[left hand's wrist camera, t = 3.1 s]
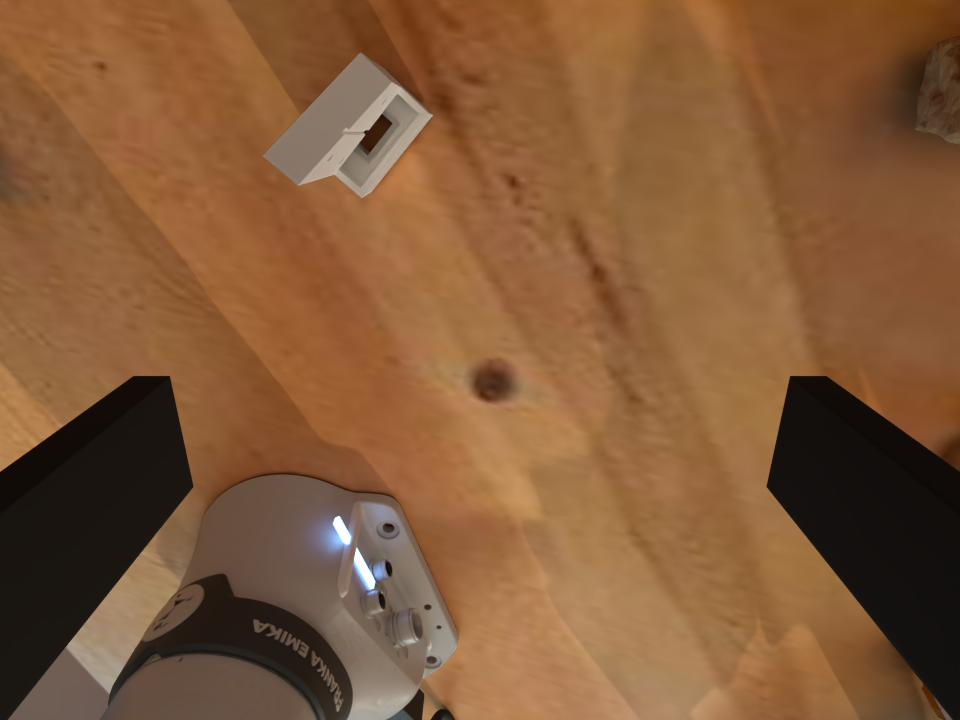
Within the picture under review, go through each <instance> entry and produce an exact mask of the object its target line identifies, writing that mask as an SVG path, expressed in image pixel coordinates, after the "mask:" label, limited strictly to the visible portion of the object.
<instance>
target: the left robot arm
mask: <svg viewBox="0 0 960 720" xmlns="http://www.w3.org/2000/svg"><path fill="white" fill-rule="evenodd" d="M192 488H193V482H192V478H191V473H190V468H189V464H188V459H187V454H186V450H185V445H184V440H183V436H182V431H181V426H180V422H179V417H178V412H177V407H176V403H175V398H174V393H173V389H172V384H171V379H170V376H133V377H132V378H130V379H129V380H128V381H126V382H125V383H123V384H122V385H121V386H119V387H118V388H116V389H115V390H114V391H112V392H111V393H109V394H108V395H107V396H105V397H104V398H102V399H101V400H100V401H98V402H97V403H95V404H94V405H93V406H91V407H90V408H89V409H87V410H86V411H84V412H83V413H82V414H80V415H79V416H77V417H76V418H75V419H73V420H72V421H70V422H69V423H68V424H66V425H65V426H63V427H62V428H61V429H59V430H58V431H57V432H55V433H54V434H52V435H51V436H50V437H48V438H47V439H45V440H44V441H43V442H41V443H40V444H38V445H37V446H36V447H34V448H33V449H31V450H30V451H29V452H27V453H26V454H25V455H23V456H22V457H20V458H19V459H18V460H16V461H15V462H13V463H12V464H11V465H9V466H8V467H6V468H5V469H4V470H2V471H1V472H0V720H8V719H9V717H10V716H11V715H12V714H13V712H14V711H15V710H16V709H17V707H18V706H19V705H20V704H21V702H22V701H23V700H24V699H25V697H26V696H27V695H28V694H29V692H30V691H31V690H32V689H33V687H34V686H35V685H36V684H37V682H38V681H39V680H40V679H41V677H42V676H43V675H44V674H45V672H46V671H47V670H48V668H49V667H50V666H51V665H52V663H53V662H54V661H55V660H56V659H57V657H58V656H59V655H60V653H61V652H62V651H63V650H64V648H65V647H66V646H67V645H68V643H69V642H70V641H71V640H72V638H73V637H74V636H75V635H76V633H77V632H78V631H79V630H80V628H81V627H82V626H83V625H84V623H85V622H86V621H87V620H88V618H89V617H90V616H91V615H92V613H93V612H94V611H95V610H96V608H97V607H98V606H99V605H100V603H101V602H102V601H103V600H104V598H105V597H106V596H107V595H108V593H109V592H110V591H111V590H112V588H113V587H114V586H115V585H116V583H117V582H118V581H119V579H120V578H121V577H122V576H123V574H124V573H125V572H126V571H127V569H128V568H129V567H130V566H131V564H132V563H133V562H134V561H135V559H136V558H137V557H138V556H139V554H140V553H141V552H142V551H143V549H144V548H145V547H146V546H147V544H148V543H149V542H150V541H151V539H152V538H153V537H154V536H155V534H156V533H157V532H158V531H159V529H160V528H161V527H162V526H163V524H164V523H165V522H166V521H167V519H168V518H169V517H170V516H171V514H172V513H173V512H174V511H175V509H176V508H177V507H178V505H179V504H180V503H181V502H182V500H183V499H184V498H185V497H186V495H187V494H188V493H189V492H190V490H191V489H192ZM767 488H768V489H769V490H770V492H771V493H772V494H773V495H774V497H775V498H776V499H777V500H778V502H779V503H780V504H781V505H782V507H783V508H784V509H785V511H786V512H787V513H788V514H789V516H790V517H791V518H792V519H793V521H794V522H795V523H796V524H797V526H798V527H799V528H800V529H801V531H802V532H803V533H804V534H805V536H806V537H807V538H808V539H809V541H810V542H811V543H812V544H813V546H814V547H815V548H816V549H817V551H818V552H819V553H820V554H821V556H822V557H823V558H824V559H825V561H826V562H827V563H828V564H829V566H830V567H831V568H832V569H833V571H834V572H835V573H836V574H837V576H838V577H839V578H840V580H841V581H842V582H843V583H844V585H845V586H846V587H847V588H848V590H849V591H850V592H851V593H852V595H853V596H854V597H855V598H856V600H857V601H858V602H859V603H860V605H861V606H862V607H863V608H864V610H865V611H866V612H867V613H868V615H869V616H870V617H871V618H872V620H873V621H874V622H875V623H876V625H877V626H878V627H879V628H880V630H881V631H882V632H883V633H884V635H885V636H886V637H887V638H888V640H889V641H890V642H891V643H892V645H893V646H894V647H895V648H896V650H897V651H898V652H899V654H900V655H901V656H902V657H903V659H904V660H905V661H906V662H907V664H908V665H909V666H910V667H911V669H912V670H913V671H914V672H915V674H916V675H917V676H918V677H919V679H920V680H921V681H922V682H923V684H924V685H925V686H926V687H927V689H928V690H929V691H930V692H931V694H932V695H933V696H934V697H935V699H936V700H937V701H938V702H939V704H940V705H941V706H942V707H943V709H944V710H945V711H946V712H947V714H948V715H949V716H950V717H951V719H952V720H960V472H959V471H958V470H956V469H955V468H954V467H952V466H951V465H949V464H948V463H947V462H945V461H944V460H942V459H941V458H940V457H938V456H937V455H935V454H934V453H933V452H931V451H930V450H929V449H927V448H926V447H924V446H923V445H922V444H920V443H919V442H917V441H916V440H915V439H913V438H912V437H910V436H909V435H908V434H906V433H905V432H903V431H902V430H901V429H899V428H898V427H897V426H895V425H894V424H892V423H891V422H890V421H888V420H887V419H885V418H884V417H883V416H881V415H880V414H878V413H877V412H876V411H874V410H873V409H871V408H870V407H869V406H867V405H866V404H864V403H863V402H862V401H860V400H859V399H858V398H856V397H855V396H853V395H852V394H851V393H849V392H848V391H846V390H845V389H844V388H842V387H841V386H839V385H838V384H837V383H835V382H834V381H832V380H831V379H830V378H828V377H827V376H790V379H789V384H788V389H787V393H786V398H785V403H784V407H783V412H782V417H781V422H780V426H779V431H778V436H777V440H776V445H775V450H774V454H773V459H772V464H771V468H770V473H769V478H768V482H767Z"/></svg>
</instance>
